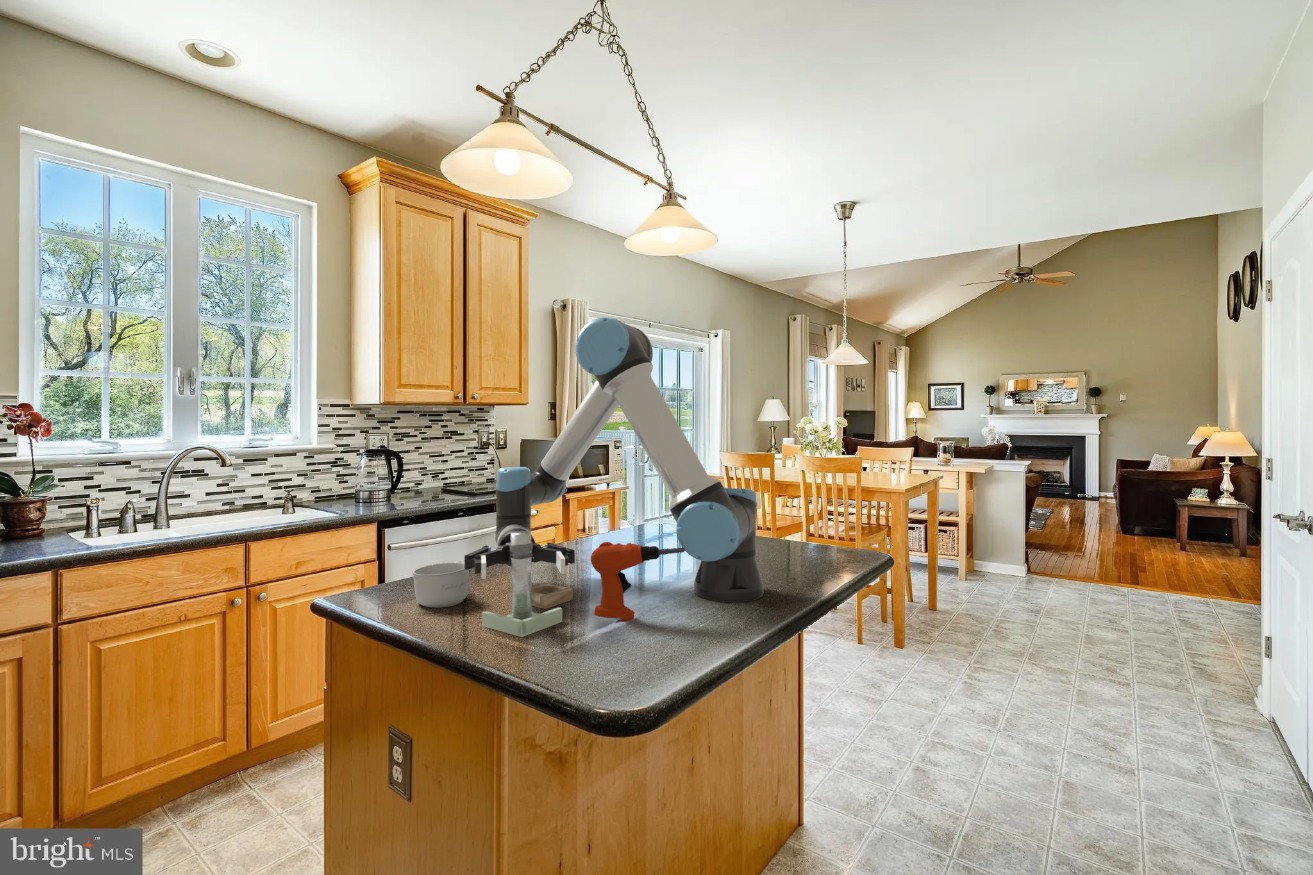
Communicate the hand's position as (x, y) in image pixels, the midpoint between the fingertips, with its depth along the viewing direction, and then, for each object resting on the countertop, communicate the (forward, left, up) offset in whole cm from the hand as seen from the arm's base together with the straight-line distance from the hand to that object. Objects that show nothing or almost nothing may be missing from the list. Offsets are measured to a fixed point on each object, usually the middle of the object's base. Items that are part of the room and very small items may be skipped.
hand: (524, 568), depth 109 cm
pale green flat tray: (+3, -2, -12) cm, 12 cm away
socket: (+10, -15, -12) cm, 21 cm away
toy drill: (-11, -18, -12) cm, 24 cm away
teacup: (+27, -4, -12) cm, 29 cm away
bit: (+3, -2, -10) cm, 11 cm away
